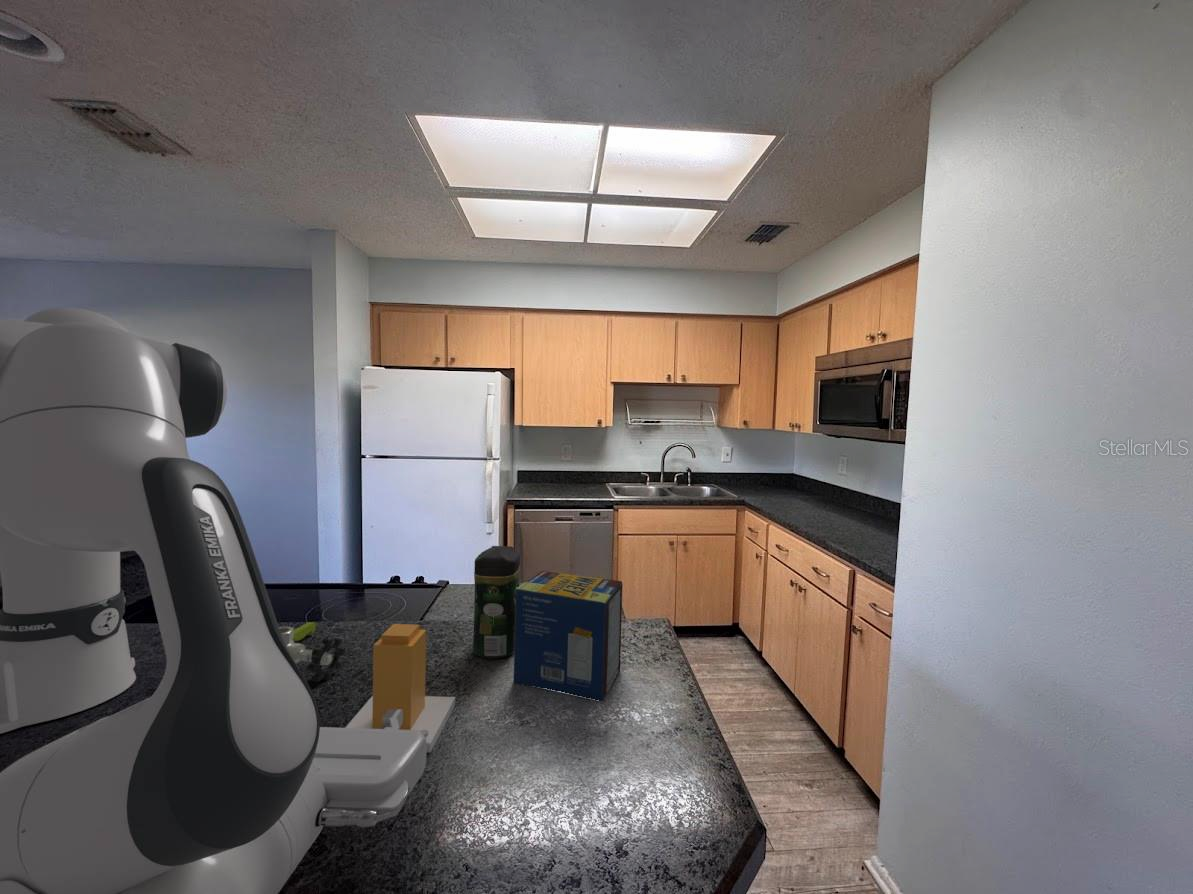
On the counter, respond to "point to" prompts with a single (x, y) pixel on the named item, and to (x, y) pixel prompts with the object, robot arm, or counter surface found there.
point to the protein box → (568, 633)
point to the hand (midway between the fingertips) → (353, 713)
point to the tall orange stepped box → (399, 673)
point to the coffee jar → (495, 601)
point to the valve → (314, 654)
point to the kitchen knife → (304, 631)
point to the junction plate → (427, 721)
